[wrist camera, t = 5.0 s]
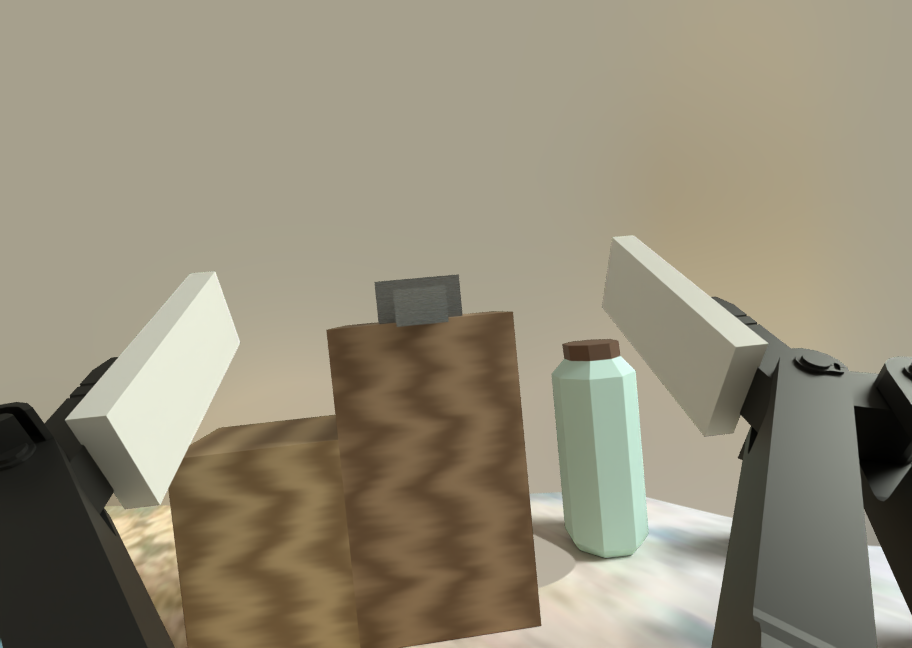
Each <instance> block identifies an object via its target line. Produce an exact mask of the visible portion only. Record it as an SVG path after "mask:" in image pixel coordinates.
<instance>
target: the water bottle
mask: <svg viewBox="0 0 912 648" xmlns="http://www.w3.org/2000/svg"><path fill="white" fill-rule="evenodd" d="M563 352H564V360H563V361H562V362H561V363H560V365H559V366H558V367H557V368H556V369H555V371H554V372H553V373H552V384H553V396H554V407H555V418H556V430H557V441H558V452H559V463H560V474H561V486H562V498H563V509H564V521H565V528H566V530H567V531H568V533H569V535H570V536H571V538H572V540H573V542H574V543H575V544H576V546H577V547H578V548H579V549H580V550H581V551H584V552H587V553H590V554H594V555H597V556H600V557H603V558H611V557H620V556H628V555H632V554H633V553H634V552H635V551H636V550H637V548H638V547H639V546H640V545H641V544H642V542H643V541H644V540H645V538H646V537H647V535H648V534H649V532H648V519H647V507H646V494H645V482H644V471H643V457H642V445H641V433H640V420H639V408H638V396H637V383H636V371H635V370H634V369H633V368H632V367H631V366H630V365H629V364H628V363H627V362H626V361H625V360H624V359H623V358H622V357H621V356H620V350H619V343H618V341H617V340H612V339H602V340H601V339H599V340H584V341H573V342H568V343H565V344H563Z"/></svg>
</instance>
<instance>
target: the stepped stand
mask: <svg viewBox="0 0 912 648" xmlns="http://www.w3.org/2000/svg"><path fill="white" fill-rule="evenodd" d="M448 319H449V322H443V323H432V324H422V325H412V326H402V327H397V325H396V323H386V324H379V322H378V323H367V324H357V325H347V326H342V327H337V328H333V329H328V330H327V339H328V349H329V358H330V367H331V377H332V385H333V395H334V404H335V414H336V415H329V416H320V417H311V418H302V419H293V420H285V421H276V422H267V423H258V424H249V425H240V426H232V427H222V428H218V429H216V430H215V431H213V432H211V433H210V434H208V435H206V436H205V437H203V438H201V439H200V440H198V441H196V442H194V443H193V444H191V445H189V447H188V449H187V451H186V453H185V456H184V458H183V460H182V462H181V464H180V466H179V468H178V470H177V472H176V474H175V476H174V478H173V480H172V482H171V484H170V486H169V488H168V489H169V498H170V506H171V514H172V522H173V530H174V539H175V547H176V555H177V563H178V571H179V580H180V588H181V596H182V604H183V613H184V621H185V629H186V637H187V645H188V648H401V647H407V646H413V645H420V644H426V643H433V642H439V641H446V640H452V639H458V638H465V637H471V636H478V635H484V634H490V633H497V632H503V631H510V630H516V629H522V628H529V627H535V626H541V618H540V607H539V595H538V584H537V574H536V562H535V551H534V540H533V529H532V518H531V507H530V496H529V485H528V474H527V463H526V452H525V441H524V430H523V419H522V408H521V397H520V386H519V375H518V363H517V353H516V343H515V342H516V341H515V332H514V331H515V330H514V320H513V312H503V311H491V312H482V313H470V314H462V316H458V317H448Z"/></svg>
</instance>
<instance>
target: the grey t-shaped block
mask: <svg viewBox="0 0 912 648" xmlns="http://www.w3.org/2000/svg"><path fill="white" fill-rule="evenodd" d="M375 291H376V300H377V310H378V321H379V324H386V323H396V325H397V327H402V326H412V325H422V324H432V323H443V322H449V319H448V317H458V316H462V307H461V295H460V284H459V275H448V276H437V277H425V278H415V279H404V280H393V281H382V282H375Z"/></svg>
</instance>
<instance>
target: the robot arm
mask: <svg viewBox="0 0 912 648" xmlns="http://www.w3.org/2000/svg"><path fill="white" fill-rule="evenodd" d="M602 308H603V309H604V310H605V312H606V313H607V314H608V315H609V317H610V318H611V319H612V320H613V322H614V323H615V324H616V325H617V327H618V328H619V329H620V330H621V332H622V333H623V334H624V336H625V337H626V338H627V339H628V341H629V342H630V343H631V344H632V346H633V347H634V348H635V349H636V351H637V352H638V353H639V355H640V356H641V357H642V358H643V360H644V361H645V362H646V363H647V365H648V366H649V367H650V368H651V370H652V371H653V372H654V373H655V374H656V376H657V377H658V379H659V380H660V381H661V382H662V384H663V385H664V386H665V387H666V389H667V390H668V391H669V392H670V394H671V395H672V396H673V397H674V399H675V400H676V401H677V402H678V404H679V405H680V406H681V408H682V409H683V410H684V411H685V413H686V414H687V415H688V416H689V418H690V419H691V420H692V421H693V423H694V424H695V425H696V426H697V428H698V429H699V430H700V431H701V433H702V434H703V435H704V437H707V436H715V435H723V434H731V433H734V430H735V428H736V425H737V423H738V420H739V418H740V415H742V416H743V418H744V419H745V420H746V421H747V422H748V423H749V424H750V425H751V427H750V430H749V432H748V435H747V437H746V439H745V442H744V444H743V447H742V449H741V451H740V454H739V456H738V458H739V459H742V460H743V462H742V467H741V473H740V479H739V485H738V491H737V497H736V503H735V510H734V515H733V521H732V527H731V533H730V539H729V545H728V551H727V557H726V563H725V569H724V575H723V581H722V587H721V593H720V599H719V605H718V611H717V617H716V623H715V629H714V635H713V641H712V647H711V648H877V639H876V629H875V619H874V609H873V598H872V588H871V578H870V568H869V557H868V547H867V537H866V527H865V518H864V509H865V512H866V514H867V516H868V518H869V521H870V523H871V525H872V527H873V529H874V532H875V534H876V536H877V538H878V541H879V543H880V545H881V547H882V550H883V552H884V554H885V556H886V559H887V561H888V563H889V565H890V567H891V570H892V572H893V574H894V576H895V579H896V581H897V583H898V585H899V588H900V590H901V592H902V594H903V597H904V599H905V601H906V603H907V605H908V608H909V610H910V612H911V614H912V357H894V358H889V359H888V360H887V361H886V362H885V364H884V366H883V367H882V369H881V371H880V373H879V374H873V373H863V372H852V371H849V370H848V368H847V367H846V366H845V365H844V364H843V363H842V362H840V361H839V360H837V359H835V358H833V357H831V356H829V355H827V354H824V353H821V352H818V351H815V350H810V349H803V348H796V349H795V348H794V349H791V348H789V347H788V346H787V345H786V344H784V343H783V342H782V341H780V340H779V339H778V338H777V337H775V336H774V335H772V334H771V333H770V332H769V331H767V330H766V329H765V328H763V327H762V326H761V325H760V324H759V325H757V322H756V321H754V320H753V319H752V318H751V317H749V316H746V314H745V313H744V312H743V311H741V310H740V309H739V308H737V307H736V306H735V305H734V304H731V303H729V302H727V301H724V300H722V299H720V298H718V297H710V296H709V295H707V294H706V293H705V292H704V291H702V290H701V289H700V288H699V287H697V286H696V285H695V284H694V283H692V282H691V281H690V280H689V279H687V278H686V277H685V276H684V275H682V274H681V273H680V272H679V271H677V270H676V269H675V268H674V267H673V266H671V265H670V264H669V263H668V262H666V261H665V260H664V259H662V258H661V257H660V256H659V255H657V254H656V253H655V252H654V251H653V250H651V249H650V248H649V247H648V246H646V245H645V244H644V243H643V242H641V241H640V240H639V239H638V238H636V237H635V236H634V235H633V236H621V237H612V242H611V249H610V256H609V262H608V269H607V276H606V282H605V289H604V296H603V302H602ZM239 344H240V340H239V338H238V335H237V332H236V329H235V326H234V323H233V321H232V318H231V315H230V312H229V309H228V306H227V303H226V301H225V298H224V295H223V292H222V289H221V286H220V284H219V281H218V278H217V275H216V272H215V271H213V272H201V273H190V275H189V276H188V277H187V278H186V279H185V280H184V281H183V282H182V284H181V285H180V286H179V287H178V288H177V289H176V291H175V292H174V293H173V294H172V295H171V297H170V298H169V299H168V300H167V301H166V302H165V304H164V305H163V306H162V307H161V308H160V309H159V310H158V312H157V313H156V314H155V315H154V316H153V317H152V319H151V320H150V321H149V322H148V323H147V325H146V326H145V327H144V328H143V329H142V330H141V332H140V333H139V334H138V335H137V336H136V337H135V338H134V340H133V341H132V342H131V343H130V344H129V346H128V347H127V348H126V349H125V350H124V351H123V353H122V354H121V355H120V356H119V357H114V358H110V359H109V360H107V361H106V362H104V363H103V364H101V365H100V366H99V367H97V368H95V369H94V370H92V372H91V373H90V374H89V375H88V376H87V377H86V378H85V379H84V380H83V381H82V383H81V384H80V387H77V388H76V389H75V390H74V391H73V393H72V394H71V395H70V398H68V399H66V400H65V401H64V403H63V404H62V405H61V406H60V407H59V408H58V409H57V411H56V412H55V413H54V414H53V415H52V416H51V417H50V418H49V419H48V420H47V421H46V423H45V424H44V423H43V421H42V420H41V418H40V417H39V416H38V414H37V413H36V412H35V410H34V409H33V407H31V406H30V405H29V404H28V403H20V402H14V403H8V404H3V405H0V648H175V647H174V645H173V643H172V641H171V639H170V637H169V635H168V633H167V631H166V629H165V627H164V625H163V623H162V621H161V619H160V617H159V615H158V613H157V611H156V609H155V607H154V604H153V602H152V600H151V598H150V596H149V594H148V592H147V590H146V588H145V586H144V584H143V582H142V580H141V578H140V576H139V574H138V572H137V570H136V568H135V566H134V564H133V562H132V560H131V558H130V556H129V554H128V552H127V550H126V548H125V546H124V544H123V541H122V539H121V537H120V535H119V533H118V531H117V529H116V527H115V525H114V523H113V521H112V519H111V517H110V516H109V514H108V513H107V511H106V510H105V509H104V507H105V505H106V504H107V502H108V500H109V499H110V497H111V495H112V494H113V493H114V494H115V496H116V497H117V498H118V500H119V502H120V503H121V504H122V506H123V507H124V509H132V508H140V507H148V506H156V505H160V504H161V502H162V500H163V498H164V496H165V494H166V492H167V490H168V488H169V486H170V484H171V482H172V480H173V478H174V476H175V474H176V472H177V470H178V468H179V466H180V464H181V462H182V460H183V458H184V456H185V453H186V451H187V449H188V447H189V445H190V443H191V441H192V439H193V437H194V435H195V433H196V431H197V429H198V427H199V425H200V423H201V421H202V419H203V417H204V415H205V413H206V411H207V409H208V407H209V405H210V403H211V401H212V399H213V397H214V395H215V393H216V391H217V389H218V387H219V385H220V383H221V381H222V379H223V377H224V374H225V373H226V371H227V369H228V366H229V364H230V362H231V360H232V358H233V356H234V354H235V352H236V350H237V348H238V346H239Z"/></svg>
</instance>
